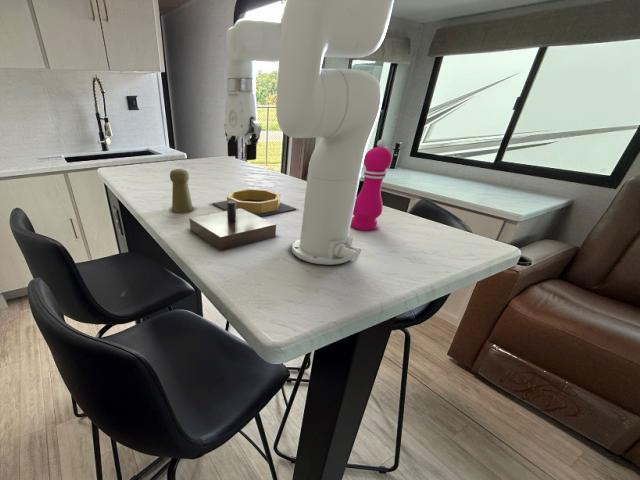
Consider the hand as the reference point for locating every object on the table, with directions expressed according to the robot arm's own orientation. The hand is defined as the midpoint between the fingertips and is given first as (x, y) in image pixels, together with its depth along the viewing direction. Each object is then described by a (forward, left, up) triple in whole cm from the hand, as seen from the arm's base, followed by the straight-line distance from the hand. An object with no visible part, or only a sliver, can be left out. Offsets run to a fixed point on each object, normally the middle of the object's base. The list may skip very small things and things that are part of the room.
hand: (241, 157), depth 93 cm
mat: (-6, 0, -13) cm, 14 cm away
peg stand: (-21, +17, -13) cm, 30 cm away
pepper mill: (-35, -14, -13) cm, 40 cm away
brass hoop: (-6, 0, -11) cm, 13 cm away
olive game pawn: (+3, +19, -13) cm, 23 cm away
